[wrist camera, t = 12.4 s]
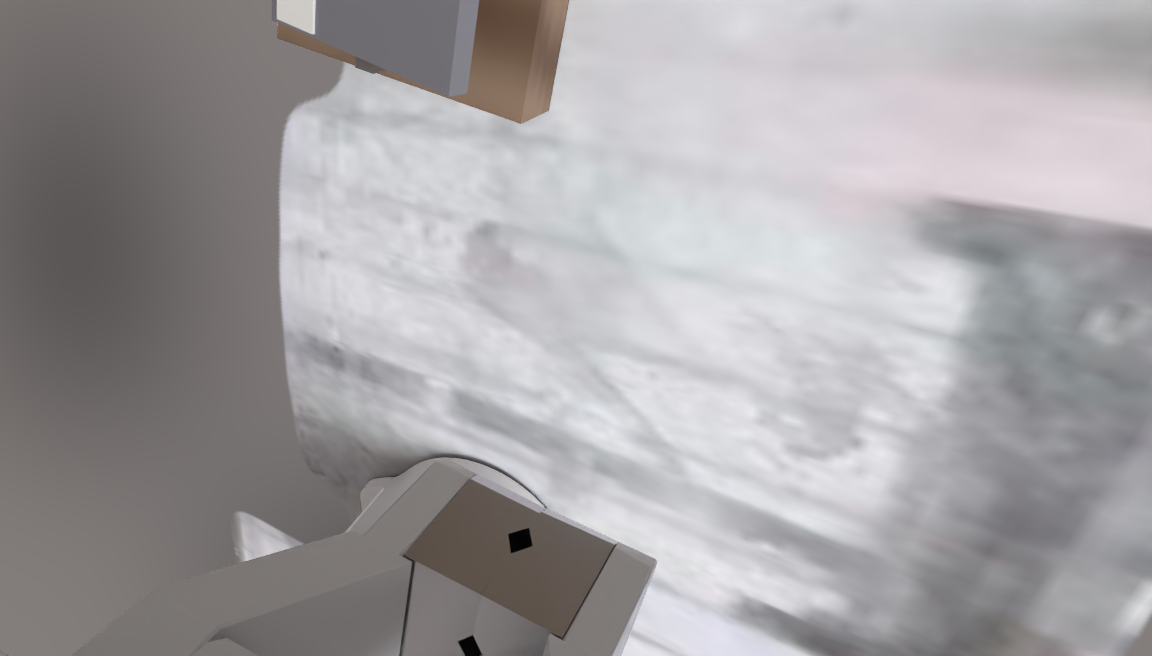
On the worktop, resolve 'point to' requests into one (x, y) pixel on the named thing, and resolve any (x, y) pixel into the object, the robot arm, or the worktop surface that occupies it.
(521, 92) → the switch unit
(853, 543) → the worktop surface
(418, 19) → the rocker
